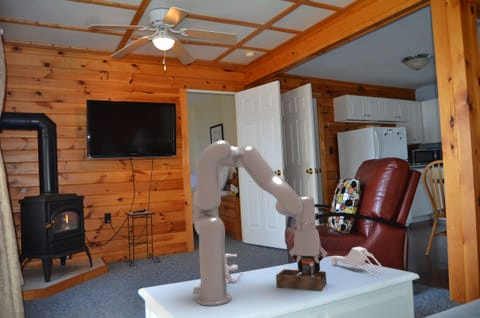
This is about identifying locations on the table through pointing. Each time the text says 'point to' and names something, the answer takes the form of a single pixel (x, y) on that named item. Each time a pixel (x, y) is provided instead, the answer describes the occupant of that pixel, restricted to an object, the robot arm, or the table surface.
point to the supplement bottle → (308, 266)
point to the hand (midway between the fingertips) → (309, 271)
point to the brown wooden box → (300, 280)
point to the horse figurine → (356, 259)
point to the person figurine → (230, 268)
